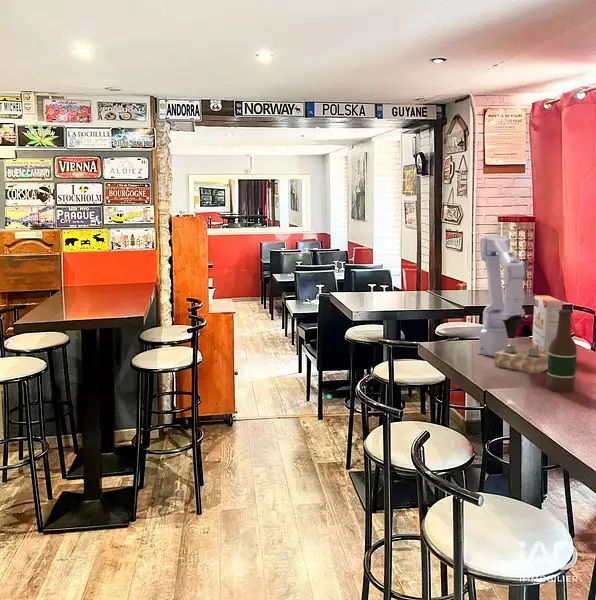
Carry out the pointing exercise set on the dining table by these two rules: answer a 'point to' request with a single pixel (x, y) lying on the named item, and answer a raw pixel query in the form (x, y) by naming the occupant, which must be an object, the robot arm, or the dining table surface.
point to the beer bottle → (562, 356)
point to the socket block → (521, 361)
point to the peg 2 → (533, 352)
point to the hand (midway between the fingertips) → (511, 337)
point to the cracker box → (545, 322)
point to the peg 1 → (510, 348)
